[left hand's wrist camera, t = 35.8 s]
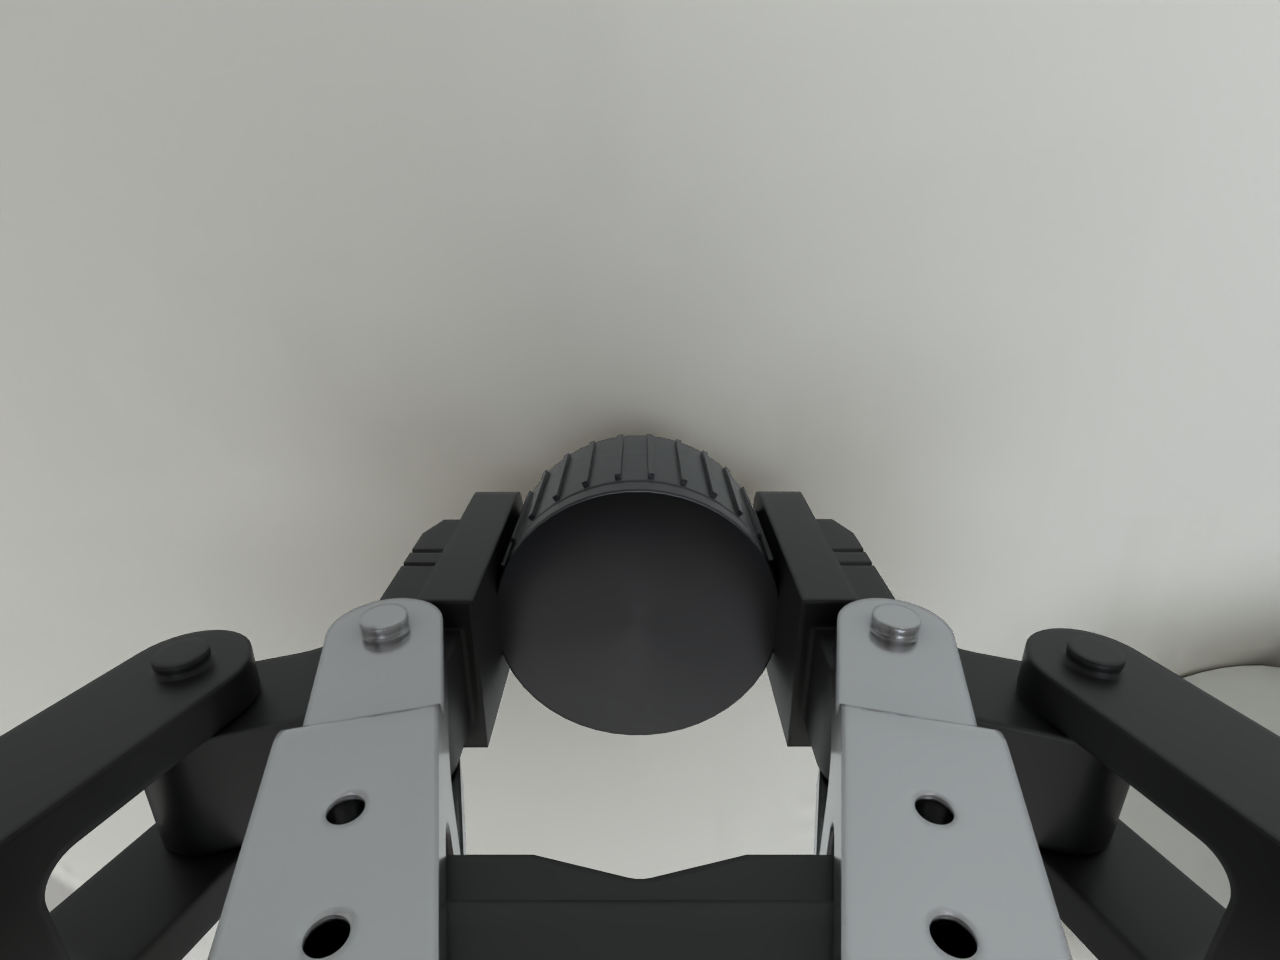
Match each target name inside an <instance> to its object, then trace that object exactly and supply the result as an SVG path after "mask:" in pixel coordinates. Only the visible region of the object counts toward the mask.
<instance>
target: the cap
mask: <svg viewBox="0 0 1280 960" xmlns="http://www.w3.org/2000/svg"><path fill="white" fill-rule="evenodd" d="M772 564H774V559H773V556H772V553H771V550H770V548H769V545H768V542H767V540H766V537H765V534H764V532H763V529H762V526H761V524H760V521H759V518H758V515H757V513H756V510H753V509H752V506H751V503H750V500H749V498H748V495H747V492H746V490H745V488H744V487H742V488H740V486H739V485H738V484H737V483H736V481H735V480H734V479H733V478H732V476H731V474H730V471H729V469H728V468H727V467H725V468H723V467H722V466H721V465H720V464H718V463H717V462H716V461H714V460H713V459H711V458H710V457H709V456H708V454H707V452H705V451H702V452H700V451H698V450H696V449H695V448H693V447H690V446H688V445H685V444H682V443H681V441H680V440H677V439H676V441H673V440H669V439H665V438H661V437H653V435H651V434H647V436H624V437H623V435H618V437H616V438H610V439H607V440H603V441H599V442H596V443H595V441H593V442H590V444H589V445H588V446H586V447H583V448H581V449H579V450H577V451H576V452H574V453H572V454H569V453H567V454H566V455H564V459H563V460H562V461H560V462H559V463H558V464H556V465H555V466H554V467H553V468H552V469H551V470H550V471H549V472H548V471H547V470H546V471H545V472H544V473H543V475H542V478H541V481H540V482H539V484H538V485H537V486H536V488H535V489H534V491H533V492H531V491H529V493H528V495H527V497H526V500H525V503H524V505H523V508H522V510H521V513H520V516H519V518H518V521H517V524H516V526H515V529H514V531H513V534H512V537H511V539H510V544H509V546H508V549H507V552H506V554H505V557H504V560H503V562H502V572H501V575H500V578H499V580H498V584H497V599H498V610H499V622H500V633H501V645H502V653H503V655H504V658H505V660H506V662H507V664H508V665H509V667H510V669H511V670H512V672H513V674H514V675H515V677H516V678H517V679H518V680H519V682H520V683H521V684H522V685H523V687H524V688H525V689H526V690H527V691H528V692H529V693H530V694H531V695H532V696H533V697H534V698H536V699H537V700H538V701H539V702H541V703H542V704H543V705H545V706H546V707H547V708H549V709H550V710H552V711H553V712H555V713H557V714H558V715H560V716H562V717H564V718H566V719H568V720H570V721H572V722H575V723H577V724H579V725H582V726H585V727H588V728H592V729H595V730H599V731H604V732H609V733H614V734H625V735H652V734H660V733H667V732H672V731H676V730H681V729H684V728H687V727H690V726H693V725H696V724H699V723H701V722H703V721H705V720H707V719H710V718H712V717H714V716H716V715H717V714H719V713H720V712H722V711H724V710H725V709H727V708H729V707H730V706H731V705H732V704H734V703H735V702H736V701H737V700H739V699H740V698H741V697H742V696H743V695H744V694H745V693H746V692H747V691H748V690H749V689H750V688H751V687H752V686H753V685H754V683H755V682H756V681H757V680H758V678H759V677H760V676H761V674H762V673H763V671H764V669H765V668H766V666H767V664H768V662H769V661H770V659H771V656H772V654H773V651H774V644H775V632H776V620H777V609H778V596H779V588H778V584H777V580H776V577H775V574H774V571H773V569H772V566H771V565H772Z"/></svg>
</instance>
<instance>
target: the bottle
mask: <svg viewBox="0 0 1280 960" xmlns="http://www.w3.org/2000/svg"><path fill="white" fill-rule="evenodd" d="M1183 679H1185V680H1187V681H1188V682H1190V683H1192V684H1193V685H1195V686H1197V687H1198V688H1200V689H1202V690H1203V691H1205V692H1207V693H1208V694H1210V695H1212V696H1213V697H1215V698H1217V699H1218V700H1220V701H1222V702H1223V703H1225V704H1227V705H1228V706H1230V707H1232V708H1233V709H1235V710H1237V711H1238V712H1240V713H1242V714H1243V715H1245V716H1247V717H1248V718H1250V719H1252V720H1253V721H1255V722H1257V723H1258V724H1260V725H1262V726H1263V727H1265V728H1267V729H1268V730H1270V731H1272V732H1273V733H1275V734H1277V735H1278V736H1280V667H1272V666H1263V665H1253V666H1234V667H1225V668H1219V669H1214V670H1210V671H1205V672H1200V673H1197V674H1194V675H1191V676H1188V677H1184V678H1183ZM1119 819H1120V820H1121V821H1122V822H1124V823H1125V824H1126V825H1127V826H1128V827H1129V828H1131V829H1132V830H1133V831H1134V832H1135V833H1137V834H1138V835H1139V836H1140V837H1141V838H1142V839H1144V840H1145V841H1146V842H1147V843H1148V844H1150V845H1151V846H1152V847H1153V848H1154V849H1156V850H1157V851H1158V852H1159V853H1160V854H1161V855H1163V856H1164V857H1165V858H1166V859H1167V860H1169V861H1170V862H1171V863H1172V864H1173V865H1175V866H1176V867H1177V868H1178V869H1179V870H1180V871H1182V872H1183V873H1184V874H1185V875H1186V876H1188V877H1189V878H1190V879H1191V880H1192V881H1193V882H1195V883H1196V884H1197V885H1198V886H1199V887H1201V888H1202V889H1203V890H1204V891H1205V892H1207V893H1208V894H1209V895H1210V896H1211V897H1212V898H1214V899H1215V900H1216V901H1217V902H1218V903H1220V904H1221V905H1222V906H1223V907H1224V908H1225V909H1226V908H1227V906H1228V903H1229V900H1230V897H1231V889H1230V883H1229V880H1228V877H1227V874H1226V872H1225V870H1224V868H1223V866H1222V865H1221V863H1220V861H1219V860H1218V859H1217V857H1216V856H1215V855H1214V853H1213V852H1212V851H1211V850H1210V849H1209V848H1208V847H1207V846H1206V845H1205V844H1204V843H1203V842H1202V841H1201V840H1199V839H1198V838H1197V837H1196V836H1194V835H1193V834H1192V833H1190V832H1189V831H1188V830H1187V829H1185V828H1184V827H1183V826H1182V825H1180V824H1179V823H1178V822H1176V821H1175V820H1174V819H1173V818H1171V817H1170V816H1169V815H1168V814H1166V813H1165V812H1164V811H1162V810H1161V809H1160V808H1159V807H1157V806H1156V805H1155V804H1154V803H1152V802H1151V801H1150V800H1148V799H1147V798H1146V797H1145V796H1143V795H1142V794H1141V793H1140V792H1138V791H1137V790H1136V789H1134V788H1133V787H1132V786H1131V785H1130V787H1129V790H1128V793H1127V796H1126V798H1125V801H1124V804H1123V807H1122V810H1121V813H1120V816H1119Z"/></svg>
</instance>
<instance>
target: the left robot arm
mask: <svg viewBox="0 0 1280 960" xmlns="http://www.w3.org/2000/svg"><path fill="white" fill-rule="evenodd" d="M522 508H523V501H522V497H521V494H520V492H476V493H475V494H474V496H473V498H472V499H471V501H470V503H469V505H468V507H467V508H466V510H465V512H464V514H463V516H462V517H461V519H460V520H443V521H441V522H440V523H438V524H437V525H435V526H434V527H432V528H431V529H429V530H427V531H426V532H424V533H423V534H422V535H421V537H420V539H419V540H418V542H417V543H416V545H415V546H414V548H413V549H412V553H410V554H409V556H408V557H407V559H406V560H405V562H404V566H401V568H400V570H399V571H398V573H397V574H396V576H395V577H394V579H393V580H392V582H391V583H390V585H389V587H388V588H387V590H386V591H385V593H384V594H383V596H382V597H381V599H380V600H379V601H376V602H372V603H368V604H365V605H363V606H360V607H358V608H355V609H353V610H351V611H349V612H348V613H346V614H344V615H343V616H341V617H340V618H339V619H337V620H336V621H335V622H334V623H333V624H332V625H331V627H330V628H329V630H328V632H327V634H326V637H325V641H324V645H323V647H321V648H318V649H315V650H311V651H307V652H303V653H298V654H293V655H287V656H282V657H277V658H272V659H266V660H261V661H256V662H255V658H254V654H253V650H252V646H251V643H250V641H249V640H248V639H247V638H246V637H245V636H243V635H242V634H239V633H236V632H233V631H227V630H208V631H200V632H194V633H189V634H184V635H181V636H178V637H174V638H171V639H168V640H166V641H163V642H160V643H158V644H156V645H154V646H151V647H149V648H147V649H146V650H144V651H142V652H140V653H138V654H137V655H135V656H133V657H132V658H130V659H128V660H127V661H125V662H123V663H122V664H120V665H118V666H117V667H115V668H113V669H112V670H110V671H108V672H107V673H105V674H103V675H102V676H100V677H98V678H97V679H95V680H93V681H92V682H90V683H88V684H87V685H85V686H83V687H82V688H80V689H78V690H77V691H75V692H73V693H72V694H70V695H68V696H67V697H65V698H63V699H62V700H60V701H58V702H57V703H55V704H53V705H52V706H50V707H48V708H47V709H45V710H43V711H42V712H40V713H38V714H37V715H35V716H33V717H32V718H30V719H28V720H27V721H25V722H23V723H22V724H20V725H18V726H17V727H15V728H13V729H12V730H10V731H8V732H7V733H5V734H3V735H2V736H0V960H182V959H183V958H184V956H185V955H186V954H187V953H188V952H189V951H190V950H191V949H192V948H193V947H194V946H195V945H196V944H197V943H198V942H199V940H200V939H201V938H202V937H203V936H204V935H205V934H206V933H207V932H208V931H209V930H210V929H211V928H212V927H213V926H214V925H215V923H216V922H217V921H218V920H219V919H220V920H219V923H218V927H217V930H216V933H215V937H214V940H213V943H212V947H211V950H210V953H209V957H208V960H1072V957H1071V953H1070V950H1069V947H1068V943H1067V940H1066V937H1065V933H1064V930H1063V927H1062V923H1061V920H1062V921H1063V922H1064V923H1065V925H1066V926H1067V927H1068V928H1069V929H1070V930H1071V931H1072V932H1073V933H1074V934H1075V935H1076V936H1077V937H1078V938H1079V939H1080V941H1081V942H1082V943H1083V944H1084V945H1085V946H1086V947H1087V948H1088V949H1089V950H1090V951H1091V952H1092V953H1093V954H1094V955H1095V956H1096V958H1097V959H1098V960H1280V736H1278V735H1277V734H1275V733H1273V732H1272V731H1270V730H1268V729H1267V728H1265V727H1263V726H1262V725H1260V724H1258V723H1257V722H1255V721H1253V720H1252V719H1250V718H1248V717H1247V716H1245V715H1243V714H1242V713H1240V712H1238V711H1237V710H1235V709H1233V708H1232V707H1230V706H1228V705H1227V704H1225V703H1223V702H1222V701H1220V700H1218V699H1217V698H1215V697H1213V696H1212V695H1210V694H1208V693H1207V692H1205V691H1203V690H1202V689H1200V688H1198V687H1197V686H1195V685H1193V684H1192V683H1190V682H1188V681H1187V680H1185V679H1183V678H1182V677H1180V676H1178V675H1177V674H1175V673H1173V672H1172V671H1170V670H1168V669H1167V668H1165V667H1163V666H1162V665H1160V664H1158V663H1157V662H1155V661H1153V660H1152V659H1150V658H1148V657H1147V656H1145V655H1143V654H1142V653H1140V652H1138V651H1136V650H1135V649H1133V648H1131V647H1129V646H1127V645H1125V644H1123V643H1121V642H1118V641H1116V640H1114V639H1111V638H1108V637H1105V636H1102V635H1099V634H1095V633H1091V632H1087V631H1082V630H1075V629H1064V628H1056V629H1047V630H1042V631H1039V632H1036V633H1034V634H1033V635H1031V636H1030V637H1029V638H1028V640H1027V642H1026V646H1025V650H1024V654H1023V658H1022V661H1018V660H1012V659H1007V658H1002V657H996V656H991V655H986V654H981V653H975V652H971V651H966V650H962V649H959V648H957V645H956V641H955V637H954V634H953V632H952V630H951V628H950V627H949V625H948V624H947V623H946V622H945V621H944V620H943V619H941V618H940V617H939V616H937V615H936V614H934V613H932V612H931V611H929V610H927V609H925V608H922V607H920V606H917V605H915V604H912V603H908V602H904V601H900V600H895V598H894V597H893V595H892V593H891V592H890V590H889V589H888V587H887V585H886V584H885V582H884V581H883V579H882V578H881V576H880V574H879V573H878V571H877V570H876V568H875V567H874V566H872V562H871V560H870V559H869V557H868V556H867V554H866V552H863V548H862V546H861V545H860V543H859V541H858V540H857V538H856V537H855V535H854V534H853V533H852V532H851V531H849V530H848V529H846V528H845V527H843V526H842V525H840V524H838V523H837V522H835V521H834V520H832V519H815V517H814V515H813V514H812V512H811V510H810V508H809V506H808V504H807V503H806V501H805V499H804V497H803V495H802V494H801V492H756V494H755V498H754V504H753V510H756V513H757V515H758V518H759V521H760V524H761V526H762V529H763V532H764V534H765V537H766V540H767V542H768V545H769V548H770V550H771V553H772V556H773V559H774V564H772V565H771V566H772V569H773V571H774V574H775V577H776V580H777V584H778V588H779V596H778V609H777V620H776V632H775V644H774V651H773V654H772V656H771V659H770V661H769V662H768V664H767V666H766V668H767V672H768V675H769V679H770V683H771V687H772V690H773V694H774V698H775V702H776V705H777V709H778V713H779V716H780V720H781V724H782V728H783V731H784V735H785V739H786V743H787V746H812V749H813V752H814V755H815V758H816V762H817V764H818V767H819V772H818V780H817V792H816V814H815V837H814V855H744V856H740V857H736V858H731V859H727V860H723V861H719V862H715V863H711V864H707V865H703V866H698V867H694V868H690V869H686V870H682V871H678V872H674V873H670V874H665V875H661V876H657V877H653V878H647V879H633V878H627V877H623V876H619V875H615V874H610V873H606V872H602V871H598V870H594V869H590V868H586V867H582V866H577V865H573V864H569V863H565V862H561V861H557V860H553V859H549V858H544V857H540V856H536V855H466V837H465V814H464V792H463V780H462V772H461V764H460V756H461V753H462V750H463V747H488V745H489V741H490V737H491V734H492V730H493V727H494V723H495V719H496V716H497V712H498V708H499V705H500V701H501V698H502V694H503V690H504V687H505V683H506V679H507V676H508V672H509V669H510V667H509V665H508V664H507V662H506V660H505V658H504V655H503V653H502V645H501V633H500V622H499V610H498V599H497V584H498V580H499V578H500V575H501V572H502V562H503V560H504V557H505V554H506V552H507V549H508V546H509V544H510V539H511V537H512V534H513V531H514V529H515V526H516V524H517V521H518V518H519V516H520V513H521V510H522ZM1130 785H1131V786H1132V787H1133V788H1134V789H1136V790H1137V791H1138V792H1140V793H1141V794H1142V795H1143V796H1145V797H1146V798H1147V799H1148V800H1150V801H1151V802H1152V803H1154V804H1155V805H1156V806H1157V807H1159V808H1160V809H1161V810H1162V811H1164V812H1165V813H1166V814H1168V815H1169V816H1170V817H1171V818H1173V819H1174V820H1175V821H1176V822H1178V823H1179V824H1180V825H1182V826H1183V827H1184V828H1185V829H1187V830H1188V831H1189V832H1190V833H1192V834H1193V835H1194V836H1196V837H1197V838H1198V839H1199V840H1201V841H1202V842H1203V843H1204V844H1205V845H1206V846H1207V847H1208V848H1209V849H1210V850H1211V851H1212V852H1213V853H1214V855H1215V856H1216V857H1217V859H1218V860H1219V861H1220V863H1221V865H1222V866H1223V868H1224V870H1225V872H1226V874H1227V877H1228V880H1229V883H1230V889H1231V897H1230V900H1229V903H1228V906H1227V908H1226V909H1225V908H1224V907H1223V906H1222V905H1221V904H1220V903H1218V902H1217V901H1216V900H1215V899H1214V898H1212V897H1211V896H1210V895H1209V894H1208V893H1207V892H1205V891H1204V890H1203V889H1202V888H1201V887H1199V886H1198V885H1197V884H1196V883H1195V882H1193V881H1192V880H1191V879H1190V878H1189V877H1188V876H1186V875H1185V874H1184V873H1183V872H1182V871H1180V870H1179V869H1178V868H1177V867H1176V866H1175V865H1173V864H1172V863H1171V862H1170V861H1169V860H1167V859H1166V858H1165V857H1164V856H1163V855H1161V854H1160V853H1159V852H1158V851H1157V850H1156V849H1154V848H1153V847H1152V846H1151V845H1150V844H1148V843H1147V842H1146V841H1145V840H1144V839H1142V838H1141V837H1140V836H1139V835H1138V834H1137V833H1135V832H1134V831H1133V830H1132V829H1131V828H1129V827H1128V826H1127V825H1126V824H1125V823H1124V822H1122V821H1121V820H1120V819H1119V816H1120V813H1121V810H1122V807H1123V804H1124V801H1125V798H1126V796H1127V793H1128V790H1129V787H1130ZM143 790H145V793H146V796H147V799H148V802H149V804H150V807H151V810H152V813H153V816H154V819H155V822H156V823H155V824H154V825H153V826H152V827H151V828H149V829H148V830H147V831H146V832H145V833H143V834H142V835H141V836H140V837H139V838H137V839H136V840H135V841H134V842H133V843H132V844H130V845H129V846H128V847H127V848H126V849H124V850H123V851H122V852H121V853H120V854H119V855H117V856H116V857H115V858H114V859H113V860H111V861H110V862H109V863H108V864H107V865H105V866H104V867H103V868H102V869H101V870H100V871H98V872H97V873H96V874H95V875H94V876H92V877H91V878H90V879H89V880H88V881H87V882H85V883H84V884H83V885H82V886H81V887H79V888H78V889H77V890H76V891H75V892H73V893H72V894H71V895H70V896H69V897H68V898H66V899H65V900H64V901H63V902H62V903H60V904H59V905H58V906H57V907H56V908H54V909H53V910H52V911H51V912H50V913H49V911H48V909H47V906H46V903H45V889H46V885H47V882H48V879H49V877H50V875H51V873H52V871H53V869H54V867H55V866H56V864H57V863H58V861H59V860H60V859H61V858H62V856H63V855H64V854H65V853H66V852H67V851H68V850H69V849H70V848H71V847H72V846H73V845H74V844H76V843H77V842H78V841H79V840H81V839H82V838H83V837H84V836H86V835H87V834H88V833H90V832H91V831H92V830H93V829H95V828H96V827H97V826H98V825H100V824H101V823H102V822H104V821H105V820H106V819H107V818H109V817H110V816H111V815H112V814H114V813H115V812H116V811H118V810H119V809H120V808H121V807H123V806H124V805H125V804H126V803H128V802H129V801H130V800H132V799H133V798H134V797H135V796H137V795H138V794H139V793H140V792H142V791H143ZM1060 919H1061V920H1060Z"/></svg>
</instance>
